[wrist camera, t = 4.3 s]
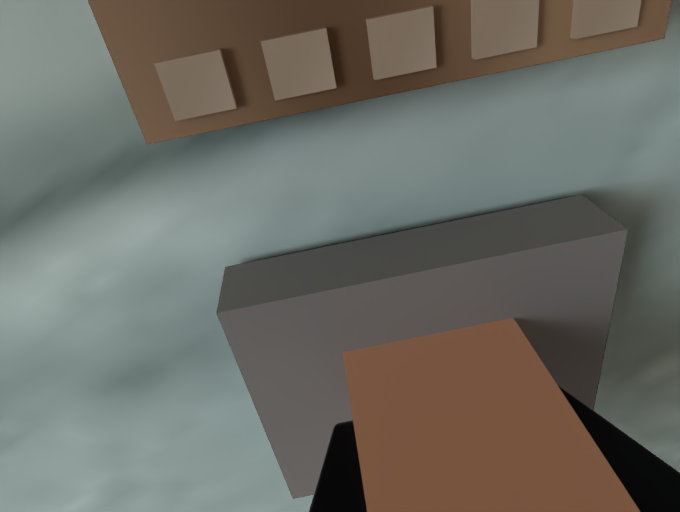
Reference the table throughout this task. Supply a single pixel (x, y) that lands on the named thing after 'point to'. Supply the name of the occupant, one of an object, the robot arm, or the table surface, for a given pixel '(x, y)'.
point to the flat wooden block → (337, 50)
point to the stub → (439, 359)
